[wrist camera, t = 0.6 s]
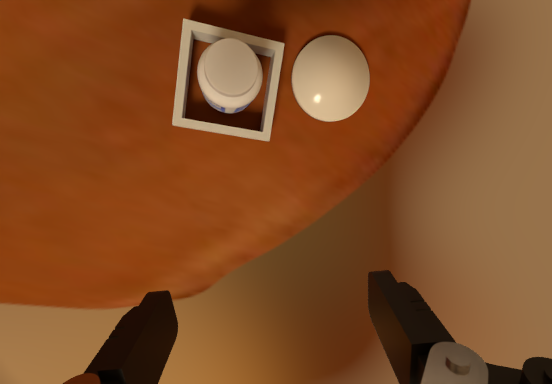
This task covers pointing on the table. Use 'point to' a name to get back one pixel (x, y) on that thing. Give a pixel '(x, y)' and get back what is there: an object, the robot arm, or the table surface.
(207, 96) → the pill bottle
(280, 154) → the table surface
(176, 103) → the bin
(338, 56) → the coaster
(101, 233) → the table surface
